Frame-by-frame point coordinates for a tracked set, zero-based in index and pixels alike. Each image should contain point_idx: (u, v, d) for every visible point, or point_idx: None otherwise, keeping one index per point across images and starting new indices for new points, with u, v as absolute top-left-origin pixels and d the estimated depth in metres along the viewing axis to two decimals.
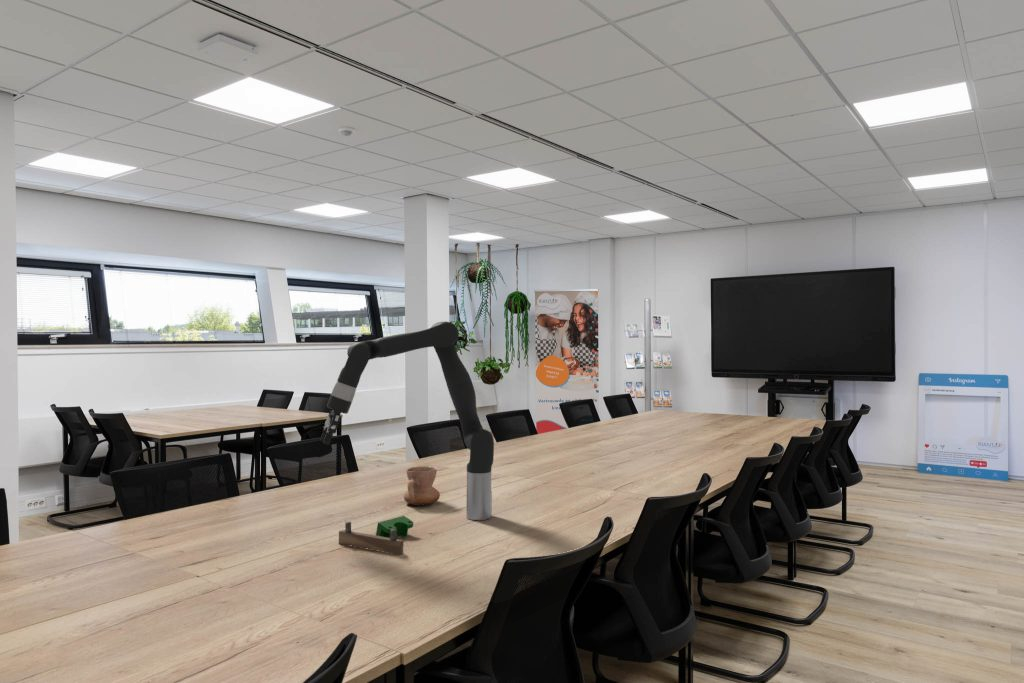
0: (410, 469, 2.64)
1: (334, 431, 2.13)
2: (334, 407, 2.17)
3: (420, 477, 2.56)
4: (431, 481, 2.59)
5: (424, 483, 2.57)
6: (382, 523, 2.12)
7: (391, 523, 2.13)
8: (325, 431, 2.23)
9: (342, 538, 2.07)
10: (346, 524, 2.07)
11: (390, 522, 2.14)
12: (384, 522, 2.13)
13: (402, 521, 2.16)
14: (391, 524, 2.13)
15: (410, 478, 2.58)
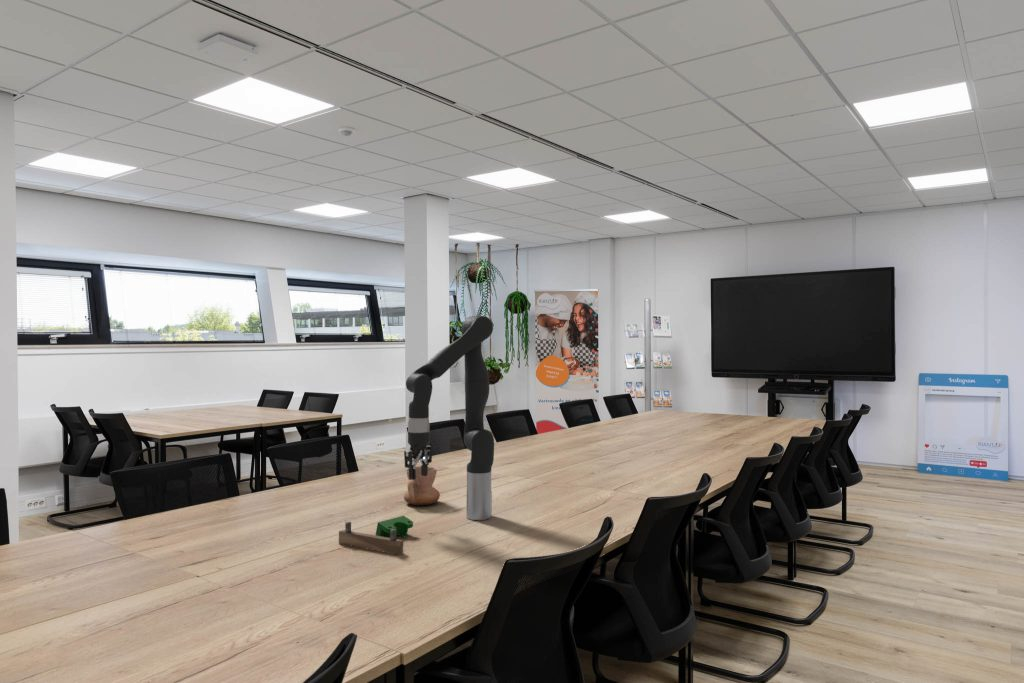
0: None
1: (409, 466, 2.21)
2: (409, 441, 2.24)
3: (420, 477, 2.56)
4: (431, 481, 2.59)
5: (424, 483, 2.57)
6: (382, 523, 2.12)
7: (391, 523, 2.13)
8: (422, 466, 2.30)
9: (342, 538, 2.07)
10: (346, 524, 2.07)
11: (390, 522, 2.14)
12: (384, 522, 2.13)
13: (401, 521, 2.17)
14: (391, 524, 2.13)
15: None
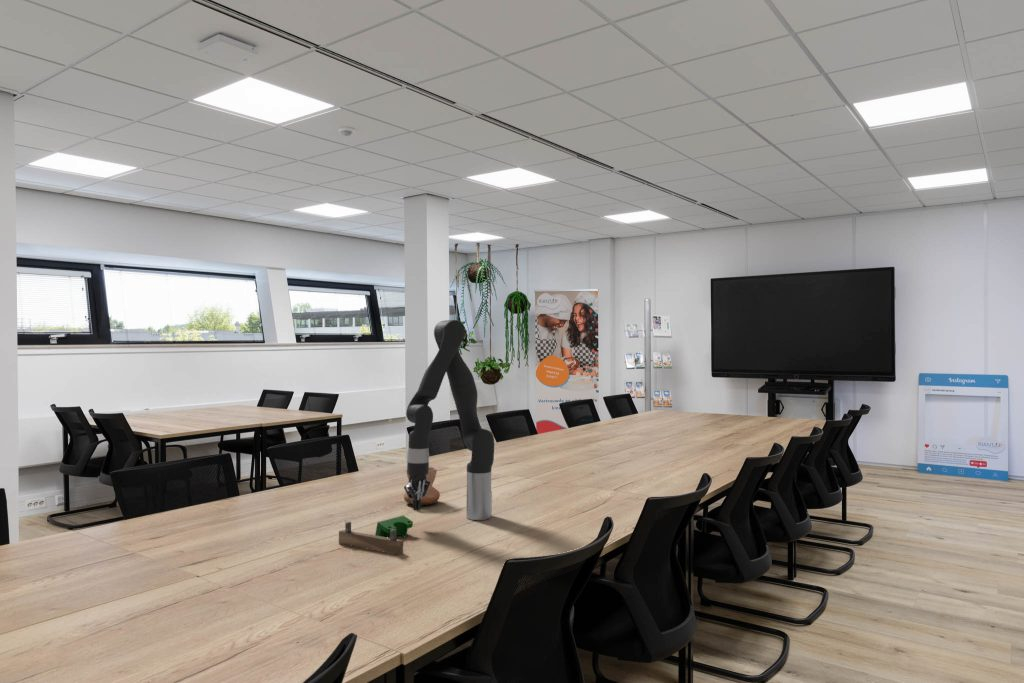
0: None
1: (413, 498, 2.23)
2: (408, 472, 2.24)
3: None
4: (431, 481, 2.59)
5: None
6: (382, 523, 2.12)
7: (391, 523, 2.14)
8: None
9: (342, 538, 2.07)
10: (346, 524, 2.07)
11: (389, 521, 2.14)
12: (384, 522, 2.13)
13: (401, 521, 2.17)
14: (390, 524, 2.13)
15: None
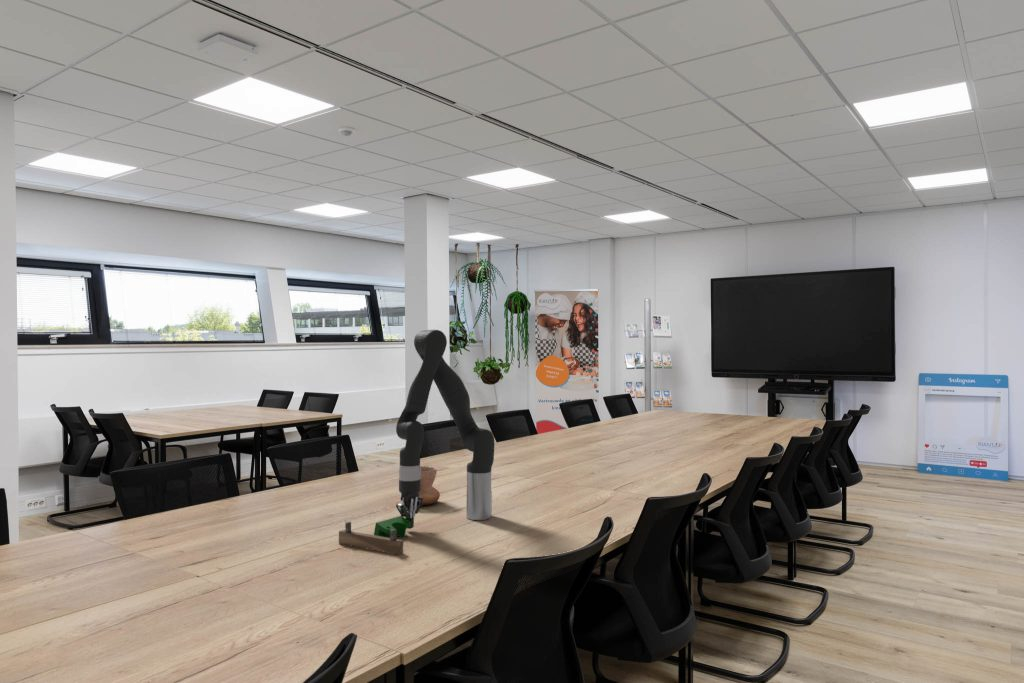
0: None
1: (406, 516, 2.19)
2: (400, 490, 2.20)
3: None
4: (431, 481, 2.59)
5: (424, 483, 2.57)
6: (380, 523, 2.12)
7: (389, 523, 2.13)
8: None
9: (342, 538, 2.07)
10: (346, 524, 2.07)
11: (388, 522, 2.14)
12: (382, 522, 2.13)
13: (399, 521, 2.16)
14: (389, 524, 2.12)
15: None
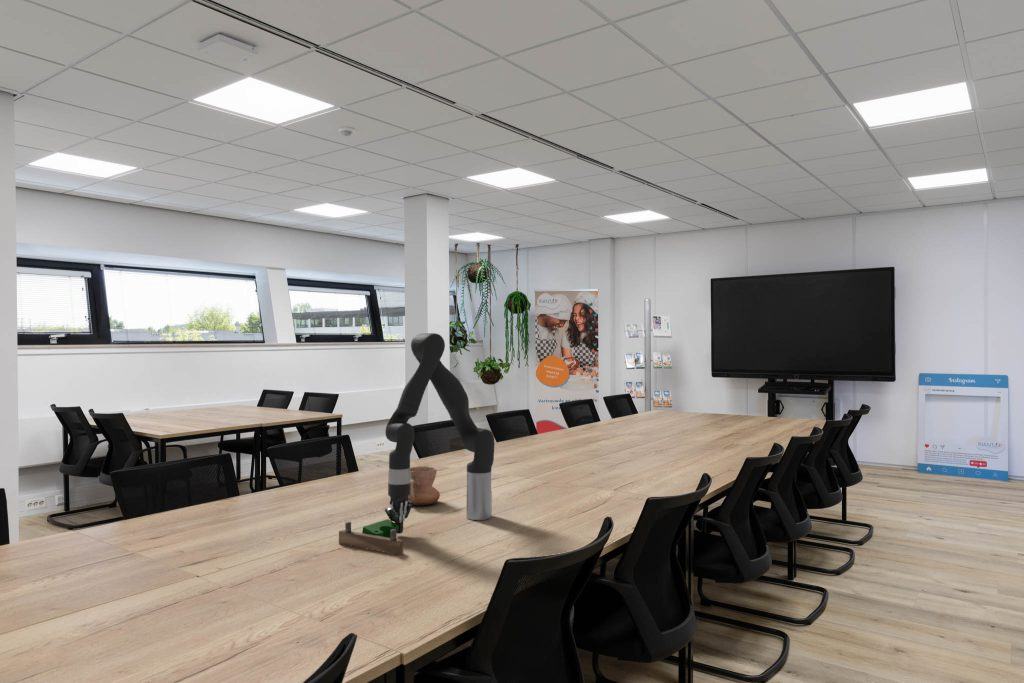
0: (410, 469, 2.64)
1: (395, 521, 2.14)
2: (389, 493, 2.15)
3: (420, 477, 2.56)
4: (431, 481, 2.59)
5: (424, 483, 2.57)
6: (367, 527, 2.07)
7: (377, 527, 2.08)
8: None
9: (342, 538, 2.07)
10: (346, 524, 2.07)
11: (375, 526, 2.09)
12: (369, 526, 2.08)
13: (387, 524, 2.12)
14: (376, 528, 2.08)
15: None
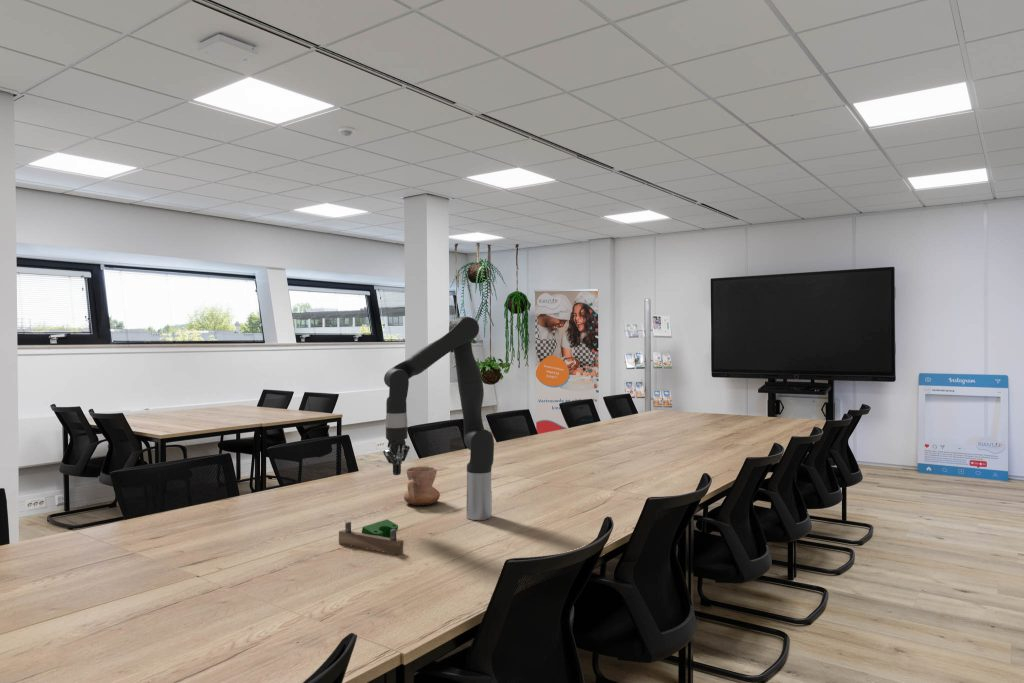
0: (410, 469, 2.64)
1: (393, 463, 2.23)
2: (387, 437, 2.24)
3: (420, 477, 2.56)
4: (431, 481, 2.59)
5: (424, 483, 2.57)
6: (367, 527, 2.07)
7: (376, 527, 2.08)
8: None
9: (342, 538, 2.07)
10: (346, 524, 2.07)
11: (375, 526, 2.09)
12: (369, 526, 2.08)
13: (386, 524, 2.12)
14: (376, 528, 2.08)
15: (410, 478, 2.58)
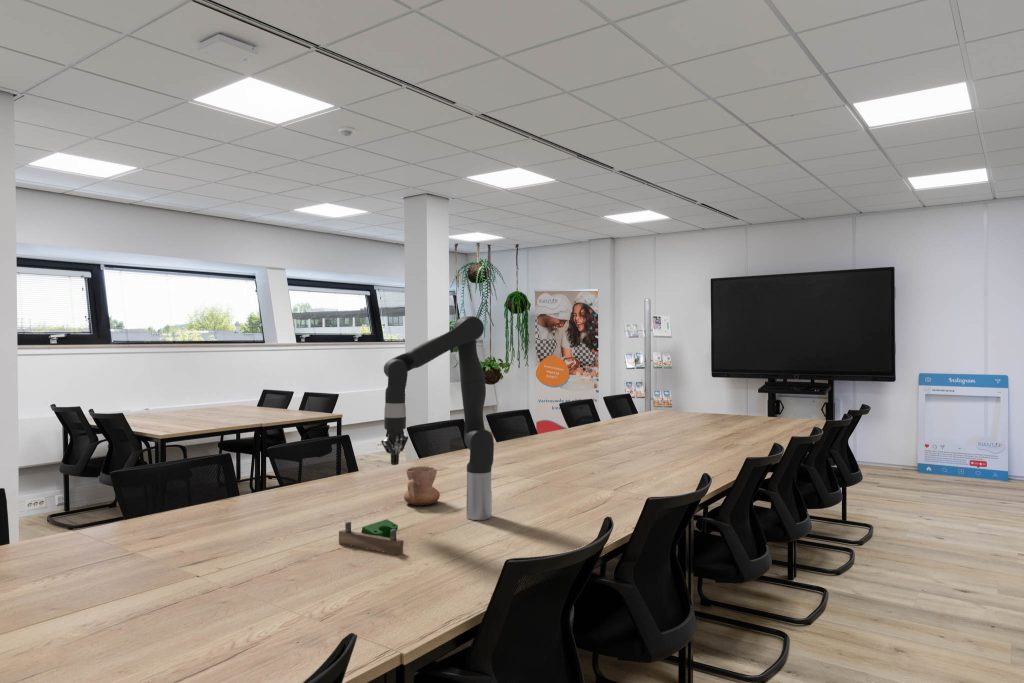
0: (410, 469, 2.64)
1: (391, 452, 2.25)
2: (385, 426, 2.25)
3: (420, 477, 2.56)
4: (431, 481, 2.59)
5: (424, 483, 2.57)
6: (367, 527, 2.07)
7: (376, 527, 2.09)
8: None
9: (342, 538, 2.07)
10: (346, 524, 2.07)
11: (374, 526, 2.09)
12: (368, 526, 2.08)
13: (386, 524, 2.12)
14: (376, 528, 2.08)
15: (410, 478, 2.58)
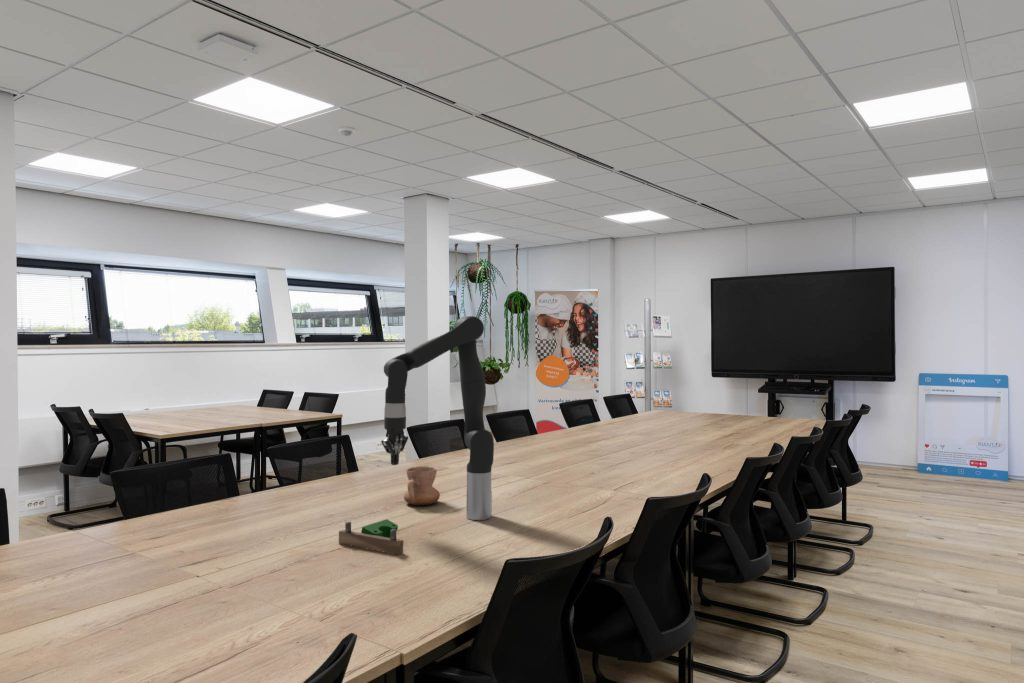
0: (410, 469, 2.64)
1: (391, 452, 2.25)
2: (385, 426, 2.25)
3: (420, 477, 2.56)
4: (431, 481, 2.59)
5: (424, 483, 2.57)
6: (367, 527, 2.07)
7: (376, 527, 2.09)
8: None
9: (342, 538, 2.07)
10: (346, 524, 2.07)
11: (374, 526, 2.09)
12: (368, 526, 2.08)
13: (386, 524, 2.12)
14: (376, 528, 2.08)
15: (410, 478, 2.58)
